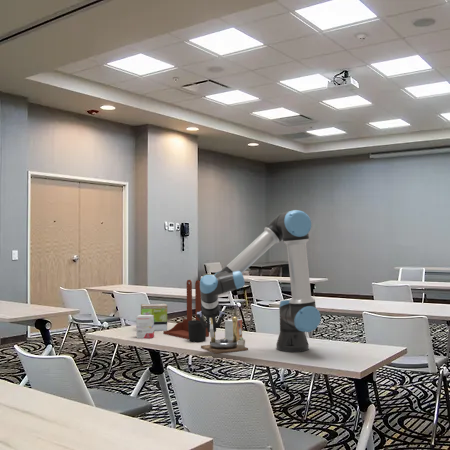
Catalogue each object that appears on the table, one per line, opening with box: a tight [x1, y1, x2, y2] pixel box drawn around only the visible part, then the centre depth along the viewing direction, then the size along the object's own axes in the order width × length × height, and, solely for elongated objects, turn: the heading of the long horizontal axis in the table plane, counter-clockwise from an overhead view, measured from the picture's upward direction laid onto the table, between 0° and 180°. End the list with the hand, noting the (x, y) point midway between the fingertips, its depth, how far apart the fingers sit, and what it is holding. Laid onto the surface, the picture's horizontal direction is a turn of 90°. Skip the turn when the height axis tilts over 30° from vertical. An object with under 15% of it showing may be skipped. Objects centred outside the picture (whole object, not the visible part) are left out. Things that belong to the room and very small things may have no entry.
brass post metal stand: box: [209, 316, 239, 349], centre depth 256 cm, size 13×13×14 cm
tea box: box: [140, 303, 168, 332], centre depth 314 cm, size 15×10×15 cm
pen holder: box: [188, 319, 207, 343], centre depth 278 cm, size 9×9×10 cm
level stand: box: [200, 336, 249, 355], centre depth 255 cm, size 17×17×6 cm
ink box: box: [135, 314, 155, 339], centre depth 289 cm, size 9×5×12 cm, turn 79°
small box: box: [224, 318, 243, 342], centre depth 278 cm, size 8×6×10 cm
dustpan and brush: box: [162, 279, 210, 340], centre depth 295 cm, size 24×13×30 cm, turn 41°
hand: (212, 335), depth 254 cm, fingers closed
